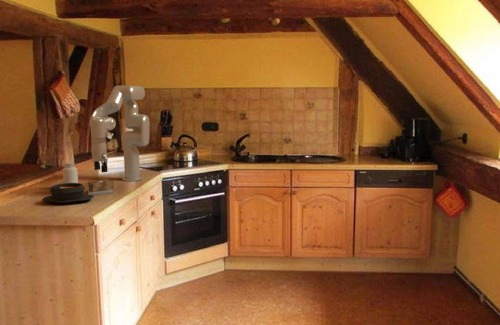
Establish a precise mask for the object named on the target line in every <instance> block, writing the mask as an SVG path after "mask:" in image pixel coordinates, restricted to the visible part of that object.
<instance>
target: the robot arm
mask: <svg viewBox="0 0 500 325" xmlns="http://www.w3.org/2000/svg"><path fill="white" fill-rule="evenodd" d="M145 91H146V90H145V88H144V87H143V86H140V85H116V86H114V87H113V88H112V90H111V92H110V94H109V96H108V98H107V100H106V102H104V103H103V104H101V105H100V106H98V107H96V109H95V110H93V112H92V114H91V116H90V119H89V123H88V124H89V128H90V134H91V135H90V136H91V158H92V160H93V167H94V168H93V169H94V171H97V170H101V174H102V173H107V172H108V170H109V169H108V154H107V146H106V143H107V138H106V135H107V134H106V131H112V130H114V129H115V128H116V125H117V123H116V119H114V118H113V117H111V116H108V115H112V114H114V113H117V112H119V111H120V109H121V108H122V106H123V107H124V116H123V118H124V121H123V123H124V127H125V128H126V129H129V130H128V131H127V130H126V131H124V132H123V133H122V134H121V136H120V137H121V143H122V148H123V150H122V151H123V164H124V165H123V166H124V177H122V179H121V180H122V181H124V182H138V181H141V180H143V177H142V176H141V172H140V169H141V168H140V152H139V150H138V148H137V147H146V146H148V145H149V143H150V126H151V125H150V124H151V123H150V118H149V116H148V115H146V114H143V113H142V114H141V113H139V105H138V103H137V100H138V101H140V100H144V99H145V95H146V92H145ZM135 100H136V101H135Z"/></svg>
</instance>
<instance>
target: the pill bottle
mask: <svg viewBox="0 0 500 325" xmlns="http://www.w3.org/2000/svg"><path fill="white" fill-rule="evenodd" d="M75 164H76V163H75V162H65V163H64V168H62V179H63V180H62V184H63V183H79V177H78V169H77V167H76V166H75Z"/></svg>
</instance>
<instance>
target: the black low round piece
mask: <svg viewBox="0 0 500 325" xmlns="http://www.w3.org/2000/svg"><path fill="white" fill-rule="evenodd" d="M85 189H86V187H85V186H84V184H83V183H80V182H78V183H63V182H62V183H58V184H55V185H52V186H51V187H50V189H49V193H50V194H51V195H48V196H45V197H43V198H42V199H41V201H43V202H51V203H56V204H60V205H63V204H74V203H79V202H81V201H89V200H92V199H93V198H94V197H95V195H88V193H87V194H85V193H84V192H85Z"/></svg>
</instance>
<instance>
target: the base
mask: <svg viewBox="0 0 500 325" xmlns="http://www.w3.org/2000/svg"><path fill="white" fill-rule="evenodd" d="M98 181H99V180H98ZM99 182H103V181H99ZM113 194H114V190H107V191H100V192H92V191H89V188H87V195H93V196H97V195H98V196H99V195H101V196H102V195H113Z"/></svg>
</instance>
